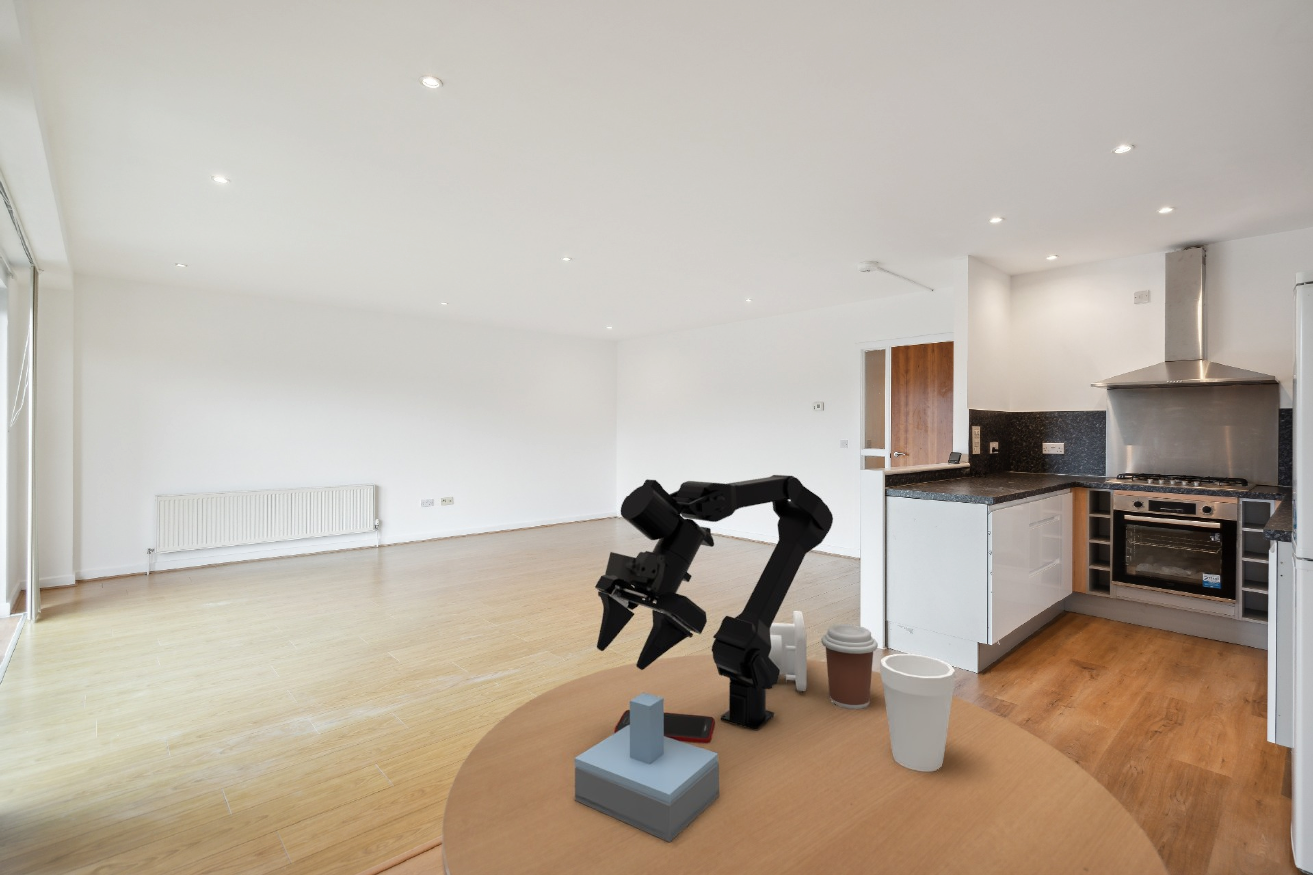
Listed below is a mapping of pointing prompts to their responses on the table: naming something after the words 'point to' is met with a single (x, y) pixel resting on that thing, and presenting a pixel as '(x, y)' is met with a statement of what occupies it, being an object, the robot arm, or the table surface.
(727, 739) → the table surface
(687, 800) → the parts tub
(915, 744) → the foam cup
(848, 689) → the coffee cup
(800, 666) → the cable organizer
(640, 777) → the tub lid
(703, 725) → the cell phone
